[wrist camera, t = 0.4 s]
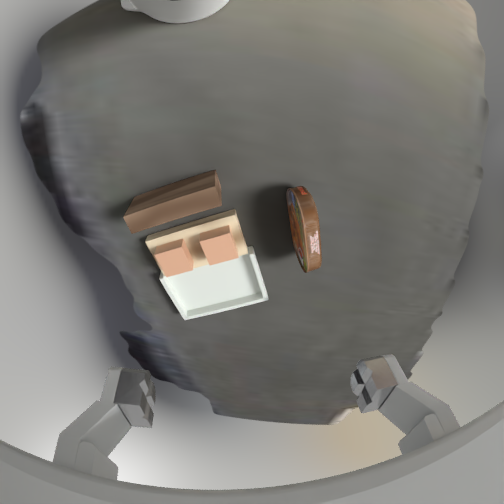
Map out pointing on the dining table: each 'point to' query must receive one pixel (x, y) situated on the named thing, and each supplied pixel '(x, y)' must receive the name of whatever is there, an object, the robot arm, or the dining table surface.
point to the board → (192, 235)
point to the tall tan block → (174, 201)
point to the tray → (217, 286)
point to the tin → (304, 227)
